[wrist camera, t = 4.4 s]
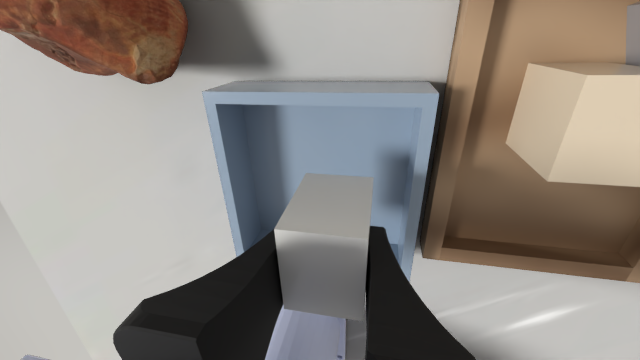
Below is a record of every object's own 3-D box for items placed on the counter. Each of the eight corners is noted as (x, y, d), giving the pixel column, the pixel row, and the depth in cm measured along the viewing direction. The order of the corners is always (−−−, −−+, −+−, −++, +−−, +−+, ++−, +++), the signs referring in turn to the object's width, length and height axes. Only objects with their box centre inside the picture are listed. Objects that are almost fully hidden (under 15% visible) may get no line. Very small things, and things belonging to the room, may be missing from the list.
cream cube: (574, 145, 15) (642, 187, 11) (505, 143, 15) (547, 181, 11) (608, 62, 13) (706, 74, 9) (528, 62, 13) (587, 75, 9)
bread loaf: (225, 39, 13) (-144, 70, 7) (202, 131, 20) (3, 185, 14) (103, -171, 14) (-301, -292, 8) (120, -15, 21) (-94, -22, 15)
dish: (405, 246, 20) (408, 284, 17) (257, 230, 22) (237, 261, 19) (428, 81, 15) (439, 93, 12) (234, 81, 17) (202, 91, 14)
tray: (624, 262, 17) (646, 283, 16) (419, 241, 20) (422, 258, 18) (830, -77, 10) (906, -96, 9) (467, -48, 12) (479, -59, 11)
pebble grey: (369, 245, 15) (363, 321, 11) (309, 239, 15) (283, 308, 12) (373, 177, 13) (368, 239, 9) (306, 172, 14) (274, 229, 10)
